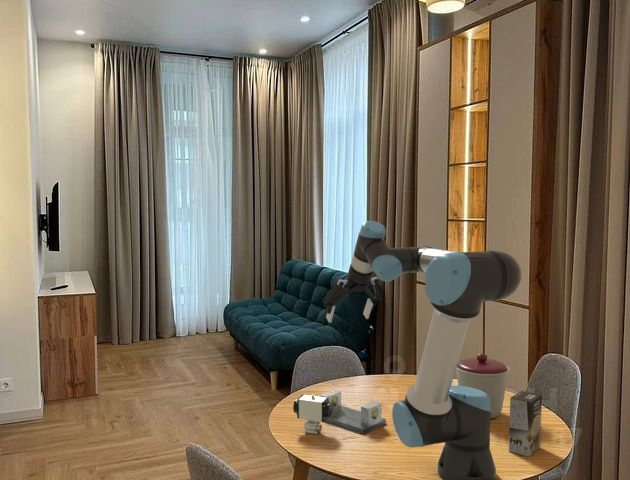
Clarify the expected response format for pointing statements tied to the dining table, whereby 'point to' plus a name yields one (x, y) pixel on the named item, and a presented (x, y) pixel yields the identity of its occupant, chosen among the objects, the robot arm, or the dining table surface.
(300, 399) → the pneumatic valve
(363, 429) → the fittings plate
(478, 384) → the canister
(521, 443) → the coffee box
